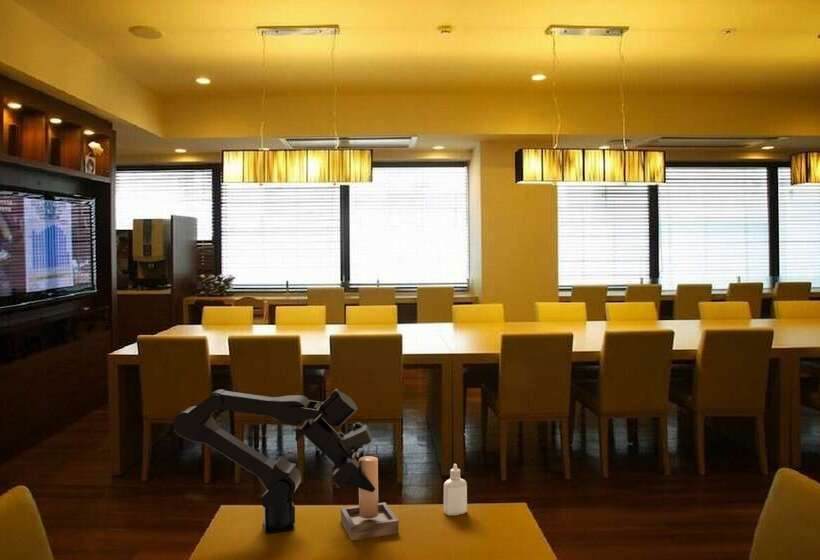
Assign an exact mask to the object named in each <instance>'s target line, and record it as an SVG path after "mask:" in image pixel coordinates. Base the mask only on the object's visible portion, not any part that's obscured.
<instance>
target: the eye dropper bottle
mask: <svg viewBox="0 0 820 560" xmlns="http://www.w3.org/2000/svg"><path fill="white" fill-rule="evenodd" d="M449 474H450V476H449V477H450V478H448V479H446V481H445V482H444V483H443V513H444V514H445V515H446V516H449V517H450V516H459V515H460V514H461V515H463V514H466V513H467V512H468V490H467V489H468V483H467V481H466V479H463V478H461V469H460V468H458V465H457V463H453V466H452V468H451V469H449ZM461 515H460V516H461Z"/></svg>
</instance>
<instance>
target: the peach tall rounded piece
mask: <svg viewBox="0 0 820 560" xmlns="http://www.w3.org/2000/svg"><path fill="white" fill-rule="evenodd" d="M361 461H362V471H363V472H364V474H365V475H366V476H367V478H368V479H369V480H370V482H371V483H372V484H373V486H374V487H375V490H374V491H373V492H370V491H367V490H364V489H361V488H358V506H359V516H360V517H362V518H367V519H369V518H375V517H377V516H378V503H379V459H378V457H376V456H370V455H369V456H367V455H366V456H365V455H364V457H361V458H359V463H360V462H361Z"/></svg>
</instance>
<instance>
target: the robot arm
mask: <svg viewBox="0 0 820 560" xmlns="http://www.w3.org/2000/svg"><path fill="white" fill-rule="evenodd" d="M218 410H221V411H228V412H237V413H245V414H252V415H259V416H266V417H269V418H272V419H273V420H275V421H277V422H280V423H282V424H286V425H288V426H291V427H292V426H293V427H294V426H295V429H294V431H295V432H294V433H295V438H294V439H295V440H294V441H295V442H299V440H301V438H303V437H304V438H306V439H307V440H308V441H309V442H310V443H311V445H313V446H314V447H315V448H316V449H317V450H318V451H319V456H321V458H322V459H323V458H324V457H325V458H326V459H327V460H328V461H329V462H330V463H332V468H333V469H334V471H333V473H332V476H331V477H332V478H331V479H332V481H331V483H332V484H333V485H334V486H336V488H337V489H340V488H341V487H342V486H343V485H348V486H351V487H355V488H358V489H359V488H361V489H364V490H367V491H370V492H373V491H374V490H375V487H374V486H373V484H372V483H371V482H370V480H369V479H368V478H367V476H366V475H365V474H364V472H363V471H362V461H361V462H360V463H359V458H361V457H365V449H363V448H364V446H367V445H369V444H370V443H372V439H373V436H372V433H371V431H370V428H369V427H368V425H367V424H363V423H361V422H360V421H359V422H356V423H354V424H353V427H352V430H351V431H349V432H348V433H347V434H345V433H344V432H343V431H340V430H339V431H338V432H337V431H336V429H334V428H335V427H341V426H342V425H343V424H344V423H345V422H346V421H347V420H348V419H350V417H351V416H352V415H353V414H355V413H356V411H357V410H358V406H357V404H356V403H355V401H354V400H353V399H352V398H351V397H350V396H349V395H346V394H345V393H344V392H341V391H340V390H339V389H338V388H335V390H333V391H332V392H331V394H330V395H329V396H328V397H327V398H326V399H325V401H317V400H311V399H309V398H308V397H306V396H305V395H301V394H300V395H299V394H295V395H294V394H293V395H292V394H291V395H282V396H273V397H272V396H266V395H258V394H252V393H251V394H250V393H243V392H238V391H237V392H236V391H231V390H229V391H228V390H226V389H217V390H215V391H213V392H212V393H210V394H209V395H208V397H207V398H205V399H204V400H203V401H202V402H200V403H199V404H197V405H194V406H189V407H188V408H186V409H185V410H183V411H181V412H180V413H178V414H177V415H176V416H175V417H174V420H173V423H172V426H173V431H174V432H175V434H176V435H178V436H179V437H181V438H184V439H186V440H188V441H190V442H194V443H200V444H204V445H206V446H207V445H208V447H210V448H211V449H213V450H216V452H218V453H220V454H221V455H223V456H225V457H226V458H228V459H229V460H231V461H233V462H234V463H236V464H237V465H239V466H240V467H242V468H243V469H245V470H247V471H248V472H250V473H252V474H253V475H255V476H256V477H257V478H258V479H259V481H260V482H261V484H262V485H263V487H264V488H265V489H266V490H265V492H264V493H263V495H261V497H260V502H261V505H262V506H263V521H262V524H263V529H264V530H263V531H264V533H265V534H273V533H280V532H286V531H293V530H295V526H294V524H296V506H295V503H294V502H293V500H292V496H293V495H294V494H295V492H296V490H297V488H298V487H299V485H300V483H301V482H302V475H301V471H300V470H299V468H298V467H296V466H297V464H296V463H295V462H293V463H292V462H290V461H289V460H288V459H287V458H285V457H284V456H283V455H281V456H279V458H278V460H277V459H271V458H269V457H267V456H265V455H264V454H263V453H261V452H259V451H257V449H255V448H253V447H252V446H250V445H249V444H246V443H245V442H244V441H242V440H240V439H239V438H238V437H235V436H234V435H232V434H231V433H229V432H228V431H226V430H224V429H223V428H221V427H220V426H219V425H218V423H217V422H216V420H215V419H214V417H213V416H212V415H213V414H214V413H216V412H217V411H218ZM319 413H320V414H319ZM318 414H319V415H318ZM316 416H317V417H316ZM315 417H316V418H315ZM314 418H315V419H314ZM305 421H306V422H305ZM304 422H305V423H304ZM302 423H303V425H302V426H300V425H301V424H302ZM333 427H334V428H333ZM359 449H361V451H360V452H359ZM362 449H363V450H362Z"/></svg>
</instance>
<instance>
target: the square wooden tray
mask: <svg viewBox="0 0 820 560" xmlns="http://www.w3.org/2000/svg"><path fill="white" fill-rule="evenodd" d="M393 512H394V511H392V510H391V508H390V507H389V506H388V504H387V503H386V502H384V501H383V502H378V516H377V517H375V518H369V519H367V518H362V517H360V516H359V505H355V506H347V507H340V521H341V523H342V526H343V527H344V530H345V531H346V533H347V535H348V538H349V539H350V541H358V540H365V539H371V538H378V537H379V538H380V537H384V536H391V535H398V534H399V532H400V531H399V529H400V528H399V527H400V526H399V522H400V521H399V519H398V517H397V516H396V515H395V514H394V513H393Z"/></svg>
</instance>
